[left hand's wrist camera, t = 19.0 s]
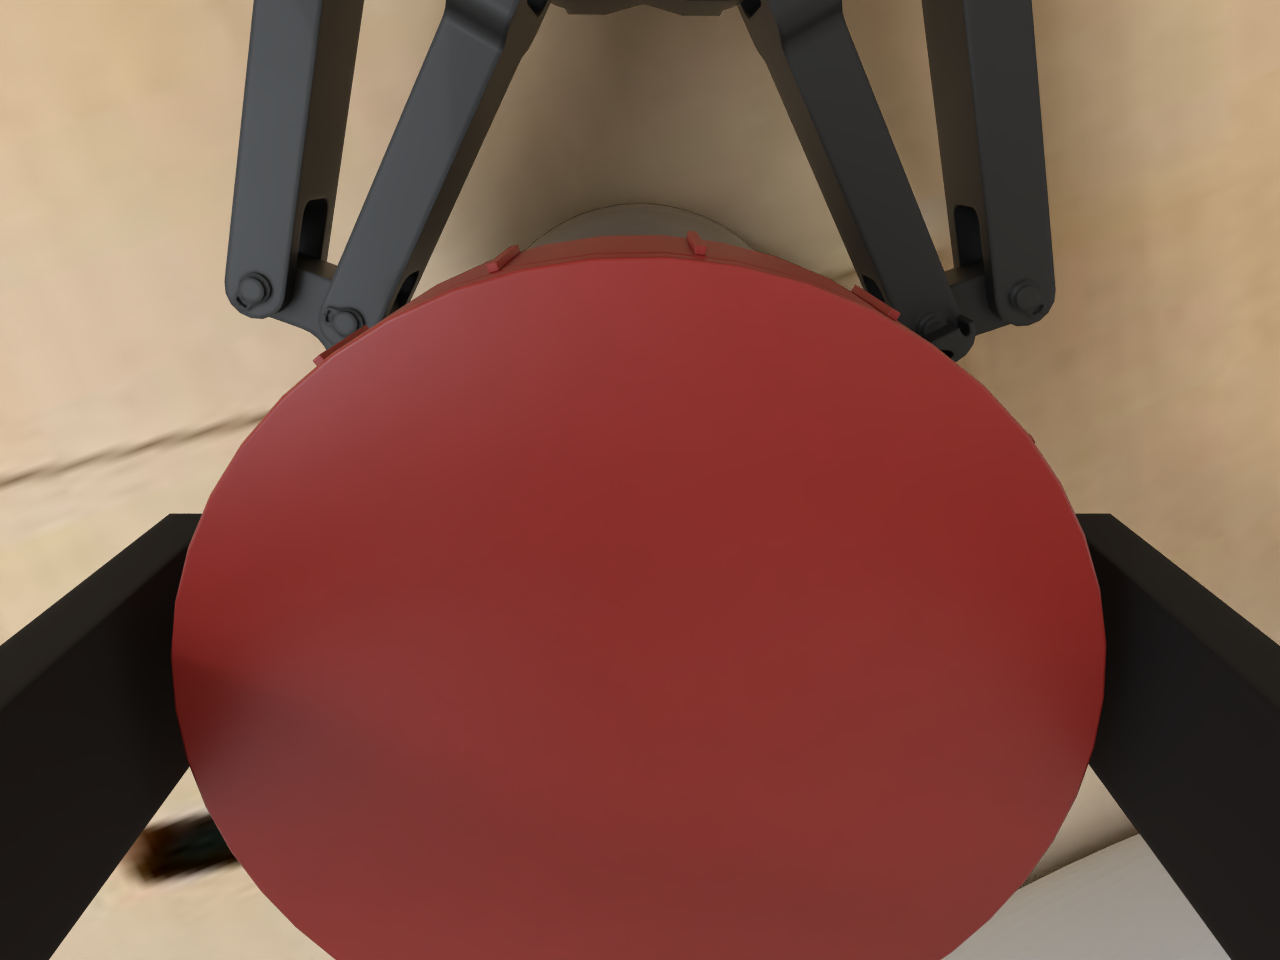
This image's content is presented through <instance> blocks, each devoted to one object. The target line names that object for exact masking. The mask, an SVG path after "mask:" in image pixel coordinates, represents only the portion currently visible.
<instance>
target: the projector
mask: <svg viewBox="0 0 1280 960" xmlns="http://www.w3.org/2000/svg"><path fill="white" fill-rule="evenodd" d="M941 960H1231V959H1230V958H1229V956H1228V955H1227V953H1226V952H1225V951H1224V949H1223V948H1222V947H1221V945H1220V944H1219V942H1218V941H1217V940H1216V938H1215V937H1214V936H1213V934H1212V933H1211V931H1210V930H1209V929H1208V927H1207V926H1206V925H1205V923H1204V922H1203V920H1202V919H1201V918H1200V916H1199V915H1198V914H1197V912H1196V911H1195V909H1194V908H1193V907H1192V905H1191V904H1190V903H1189V901H1188V900H1187V898H1186V897H1185V896H1184V894H1183V893H1182V892H1181V890H1180V889H1179V887H1178V886H1177V885H1176V883H1175V882H1174V881H1173V879H1172V878H1171V876H1170V875H1169V874H1168V872H1167V871H1166V870H1165V868H1164V867H1163V865H1162V864H1161V863H1160V861H1159V860H1158V859H1157V857H1156V856H1155V854H1154V853H1153V852H1152V850H1151V849H1150V848H1149V846H1148V845H1147V843H1146V842H1145V841H1144V839H1143V838H1142V837H1141V835H1140V834H1137V835H1135V836H1132V837H1130V838H1127V839H1125V840H1123V841H1120V842H1118V843H1115V844H1113V845H1111V846H1109V847H1106V848H1104V849H1102V850H1100V851H1098V852H1095V853H1093V854H1091V855H1089V856H1087V857H1084V858H1082V859H1080V860H1078V861H1075V862H1073V863H1071V864H1069V865H1067V866H1065V867H1063V868H1061V869H1059V870H1057V871H1055V872H1052V873H1050V874H1048V875H1046V876H1044V877H1042V878H1040V879H1038V880H1036V881H1034V882H1032V883H1030V884H1028V885H1026V886H1024V887H1022V888H1020V889H1018V890H1017V891H1016V892H1015V893H1014V894H1013V895H1012V896H1011V897H1010V898H1009V899H1008V900H1007V902H1006V903H1005V904H1004V905H1003V906H1002V907H1001V908H1000V909H999V910H998V911H997V912H996V914H995V915H994V916H993V917H992V918H991V919H990V920H989V921H988V922H987V923H985V924H984V925H983V926H982V927H981V928H980V929H978V930H977V931H976V932H975V933H974V934H973V935H972V936H970V937H969V938H968V939H967V940H966V941H965V942H963V943H962V944H961V945H960V946H959V947H958V948H956V949H955V950H954V951H953V952H952V953H950V954H949V955H947V956H946V957H944V958H943V959H941Z"/></svg>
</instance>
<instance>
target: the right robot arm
mask: <svg viewBox="0 0 1280 960" xmlns="http://www.w3.org/2000/svg"><path fill="white" fill-rule="evenodd" d="M550 3H552V4H554V5H556V6H559V7H562V8H565V9H566V11H567V13H568V14H597V15H606V14H609V13H612V12H616V11H619V10H623V9H626V8H630V7H633V6H637V5H640V4H647V5H651V6H654V7H657V8H660V9H663V10H667V11H670V12H673V13H676V14H679V15H686V16H719V15H720V14H721V12H722V11H723V10H725V9H728V8H731V7H733V6H736V5H737V6H738V8H739V11H740V13H741V15H742V18H743V20H744V22H745V25H746V27H747V29H748V31H749V34H750V36H751V38H752V40H753V43H754V45H755V47H756V48H757V50H758V52H759V53H760V55H761V56H762V58H763V59H764V61H765V62H766V64H767V66H768V69H769V71H770V73H771V75H772V78H773V80H774V82H775V85H776V87H777V89H778V92H779V94H780V96H781V99H782V101H783V103H784V106H785V108H786V110H787V113H788V115H789V117H790V120H791V122H792V124H793V126H794V129H795V131H796V133H797V136H798V138H799V140H800V143H801V145H802V147H803V150H804V152H805V154H806V157H807V159H808V161H809V164H810V166H811V168H812V170H813V173H814V175H815V177H816V180H817V182H818V184H819V187H820V189H821V191H822V194H823V196H824V198H825V201H826V203H827V205H828V208H829V210H830V212H831V215H832V217H833V219H834V221H835V224H836V226H837V228H838V231H839V233H840V235H841V238H842V240H843V242H844V245H845V247H846V249H847V252H848V254H849V256H850V259H851V261H852V263H853V266H854V268H855V270H856V272H857V275H858V277H859V279H860V282H861V284H862V286H863V289H864V290H865V291H866V292H868V293H869V294H871V295H872V296H874V297H876V298H877V299H879V300H880V301H882V302H883V303H885V304H887V305H888V306H890V307H891V308H893V309H894V310H896V311H898V312H899V313H900V316H899V317H898V319H897V321H899V322H900V323H902V324H903V325H905V326H906V327H907V328H909V329H910V330H912V331H913V332H915V333H916V334H918V335H919V336H921V337H922V338H924V339H925V340H927V341H928V342H930V343H931V344H933V345H934V346H935V347H937V348H938V349H939V350H940V351H942V352H943V353H944V354H945V355H946V356H948V357H949V358H950V359H951V360H953V361H954V362H957V361H958V360H959V359H961V358H962V357H964V356H965V355H966V354H967V353H968V351H969V350H970V348H971V347H972V345H973V343H974V339H975V336H976V335H979V334H982V333H985V332H988V331H991V330H994V329H997V328H1000V327H1003V326H1006V325H1009V324H1013V325H1015V326H1028V325H1031V324H1033V323H1035V322H1037V321H1040V320H1041V319H1042V318H1043V317H1044V316H1045V315H1046V314H1047V313H1048V312H1049V310H1050V308H1051V306H1052V304H1053V303H1054V298H1055V278H1054V266H1053V254H1052V242H1051V230H1050V218H1049V206H1048V194H1047V182H1046V170H1045V158H1044V146H1043V134H1042V122H1041V109H1040V97H1039V85H1038V73H1037V61H1036V49H1035V37H1034V25H1033V13H1032V1H1031V0H922V8H923V16H924V24H925V32H926V40H927V49H928V57H929V65H930V73H931V82H932V90H933V98H934V106H935V114H936V123H937V131H938V139H939V147H940V156H941V164H942V172H943V180H944V188H945V197H946V205H947V213H948V221H949V230H950V238H951V246H952V254H953V262H954V268H953V269H950V270H948V271H945V272H944V270H943V267H942V265H941V262H940V260H939V257H938V255H937V252H936V250H935V247H934V245H933V242H932V240H931V237H930V235H929V232H928V230H927V227H926V225H925V222H924V220H923V217H922V215H921V212H920V209H919V207H918V204H917V202H916V199H915V197H914V194H913V192H912V189H911V187H910V184H909V182H908V179H907V177H906V174H905V172H904V169H903V167H902V164H901V162H900V159H899V157H898V154H897V152H896V149H895V147H894V144H893V141H892V139H891V136H890V134H889V131H888V129H887V126H886V124H885V121H884V119H883V116H882V114H881V111H880V109H879V106H878V104H877V101H876V99H875V96H874V94H873V91H872V89H871V86H870V84H869V81H868V79H867V76H866V74H865V71H864V68H863V66H862V63H861V61H860V58H859V56H858V53H857V51H856V48H855V46H854V43H853V41H852V38H851V36H850V33H849V31H848V28H847V26H846V23H845V20H844V17H843V12H842V0H446V7H445V11H444V15H443V17H442V20H441V22H440V25H439V27H438V30H437V32H436V34H435V37H434V39H433V41H432V44H431V46H430V48H429V51H428V53H427V56H426V58H425V60H424V63H423V65H422V67H421V70H420V72H419V75H418V77H417V79H416V82H415V84H414V86H413V89H412V91H411V93H410V96H409V98H408V101H407V103H406V105H405V108H404V110H403V112H402V115H401V117H400V120H399V122H398V124H397V127H396V129H395V131H394V134H393V136H392V138H391V141H390V143H389V146H388V148H387V150H386V153H385V155H384V157H383V160H382V162H381V165H380V167H379V169H378V172H377V174H376V176H375V179H374V181H373V183H372V186H371V188H370V191H369V193H368V195H367V198H366V200H365V202H364V205H363V207H362V210H361V212H360V214H359V217H358V219H357V221H356V224H355V226H354V228H353V231H352V233H351V236H350V238H349V240H348V243H347V245H346V247H345V250H344V252H343V255H342V257H341V259H340V262H339V264H338V266H336V265H334V264H331V263H328V262H327V256H328V249H329V242H330V235H331V228H332V221H333V214H334V207H335V200H336V193H337V186H338V179H339V172H340V165H341V158H342V151H343V144H344V137H345V130H346V123H347V116H348V109H349V102H350V95H351V88H352V81H353V74H354V67H355V60H356V53H357V46H358V39H359V32H360V25H361V18H362V11H363V4H364V0H254V5H253V14H252V24H251V34H250V43H249V53H248V62H247V72H246V81H245V91H244V101H243V110H242V120H241V129H240V139H239V149H238V158H237V168H236V177H235V187H234V196H233V206H232V216H231V225H230V235H229V244H228V254H227V264H226V273H225V291H226V295H227V297H228V299H229V301H230V303H231V304H232V305H233V306H234V307H235V308H236V309H237V310H238V311H239V312H240V313H242V314H244V315H246V316H248V317H250V318H259V319H264V318H266V317H271V318H274V319H277V320H280V321H283V322H285V323H288V324H291V325H294V326H297V327H299V328H302V329H304V330H306V331H308V332H310V333H312V334H313V335H314V336H315V337H317V338H318V339H319V340H320V342H321V343H322V344H323V345H324V346H325V348H326V350H327V349H329V348H331V347H332V346H334V345H335V344H337V343H338V342H340V341H341V340H343V339H345V338H346V337H348V336H349V335H351V334H352V333H354V332H355V331H357V330H358V329H360V328H362V327H363V326H365V325H367V326H368V327H369V328H371V327H372V326H374V325H375V324H377V323H378V322H380V321H381V320H383V319H384V318H386V317H387V316H389V315H390V314H392V313H393V312H395V311H397V310H398V309H400V308H401V307H403V306H404V305H406V304H408V303H409V302H410V301H411V298H412V296H413V294H414V292H415V290H416V287H417V285H418V283H419V281H420V279H421V277H422V274H423V272H424V270H425V268H426V266H427V263H428V261H429V259H430V257H431V255H432V252H433V250H434V248H435V246H436V244H437V242H438V239H439V237H440V235H441V233H442V231H443V228H444V226H445V224H446V222H447V220H448V217H449V215H450V213H451V211H452V209H453V206H454V204H455V202H456V200H457V198H458V196H459V193H460V191H461V189H462V187H463V185H464V182H465V180H466V178H467V176H468V174H469V171H470V169H471V167H472V165H473V163H474V160H475V158H476V156H477V154H478V152H479V150H480V147H481V145H482V143H483V141H484V139H485V136H486V134H487V132H488V130H489V128H490V125H491V123H492V121H493V119H494V117H495V114H496V112H497V110H498V108H499V106H500V104H501V101H502V99H503V97H504V95H505V93H506V90H507V88H508V86H509V84H510V82H511V79H512V77H513V75H514V73H515V71H516V68H517V66H518V64H519V62H520V60H521V59H522V57H523V55H524V54H525V53H526V51H527V50H528V49H529V47H530V45H531V43H532V42H533V40H534V37H535V35H536V33H537V31H538V29H539V27H540V25H541V22H542V20H543V18H544V16H545V14H546V12H547V9H548V7H549V5H550Z"/></svg>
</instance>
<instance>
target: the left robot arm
mask: <svg viewBox="0 0 1280 960" xmlns="http://www.w3.org/2000/svg"><path fill="white" fill-rule="evenodd" d="M1075 515H1076V517H1077V519H1078V521H1079V524H1080V526H1081V528H1082V530H1083V532H1084V534H1085V537H1086V541H1087V545H1088V548H1089V552H1090V555H1091V559H1092V562H1093V566H1094V570H1095V573H1096V577H1097V580H1098V584H1099V587H1100V594H1101V602H1102V611H1103V620H1104V629H1105V637H1106V664H1105V687H1104V700H1103V705H1102V710H1101V715H1100V720H1099V725H1098V730H1097V735H1096V740H1095V746H1094V749H1093V752H1092V755H1091V758H1090V761H1089V763H1088V764H1089V765H1090V766H1091V768H1092V769H1093V771H1094V772H1095V773H1096V775H1097V776H1098V777H1099V779H1100V780H1101V782H1102V783H1103V784H1104V786H1105V787H1106V788H1107V790H1108V791H1109V793H1110V794H1111V795H1112V797H1113V798H1114V799H1115V801H1116V802H1117V804H1118V805H1119V806H1120V808H1121V809H1122V810H1123V812H1124V813H1125V815H1126V816H1127V817H1128V819H1129V820H1130V821H1131V823H1132V824H1133V826H1134V827H1135V828H1136V830H1137V831H1138V832H1139V834H1140V835H1141V837H1142V838H1143V839H1144V841H1145V842H1146V843H1147V845H1148V846H1149V848H1150V849H1151V850H1152V852H1153V853H1154V854H1155V856H1156V857H1157V859H1158V860H1159V861H1160V863H1161V864H1162V865H1163V867H1164V868H1165V870H1166V871H1167V872H1168V874H1169V875H1170V876H1171V878H1172V879H1173V881H1174V882H1175V883H1176V885H1177V886H1178V887H1179V889H1180V890H1181V892H1182V893H1183V894H1184V896H1185V897H1186V898H1187V900H1188V901H1189V903H1190V904H1191V905H1192V907H1193V908H1194V909H1195V911H1196V912H1197V914H1198V915H1199V916H1200V918H1201V919H1202V920H1203V922H1204V923H1205V925H1206V926H1207V927H1208V929H1209V930H1210V931H1211V933H1212V934H1213V936H1214V937H1215V938H1216V940H1217V941H1218V942H1219V944H1220V945H1221V947H1222V948H1223V949H1224V951H1225V952H1226V953H1227V955H1228V956H1229V958H1230V959H1231V960H1280V646H1279V645H1278V644H1277V643H1275V642H1274V641H1273V640H1272V639H1270V638H1269V637H1268V636H1266V635H1265V634H1264V633H1263V632H1261V631H1260V630H1259V629H1257V628H1256V627H1255V626H1254V625H1252V624H1251V623H1250V622H1248V621H1247V620H1246V619H1245V618H1243V617H1242V616H1241V615H1239V614H1238V613H1237V612H1236V611H1234V610H1233V609H1232V608H1230V607H1229V606H1228V605H1227V604H1225V603H1224V602H1223V601H1221V600H1220V599H1219V598H1218V597H1216V596H1215V595H1214V594H1212V593H1211V592H1210V591H1209V590H1207V589H1206V588H1205V587H1203V586H1202V585H1201V584H1200V583H1198V582H1197V581H1196V580H1195V579H1193V578H1192V577H1191V576H1189V575H1188V574H1187V573H1186V572H1184V571H1183V570H1182V569H1180V568H1179V567H1178V566H1177V565H1175V564H1174V563H1173V562H1171V561H1170V560H1169V559H1168V558H1166V557H1165V556H1164V555H1162V554H1161V553H1160V552H1159V551H1157V550H1156V549H1155V548H1153V547H1152V546H1151V545H1150V544H1148V543H1147V542H1146V541H1144V540H1143V539H1142V538H1141V537H1139V536H1138V535H1137V534H1135V533H1134V532H1133V531H1132V530H1130V529H1129V528H1128V527H1126V526H1125V525H1124V524H1123V523H1121V522H1120V521H1119V520H1118V519H1116V518H1115V517H1114V516H1112V515H1111V514H1075ZM201 516H202V514H169V515H168V516H166V517H165V518H164V519H162V520H161V521H160V522H159V523H157V524H156V525H155V526H154V527H152V528H151V529H150V530H148V531H147V532H146V533H145V534H143V535H142V536H141V537H139V538H138V539H137V540H136V541H134V542H133V543H132V544H130V545H129V546H128V547H127V548H125V549H124V550H123V551H121V552H120V553H119V554H118V555H116V556H115V557H114V558H112V559H111V560H110V561H109V562H107V563H106V564H105V565H103V566H102V567H101V568H100V569H98V570H97V571H96V572H94V573H93V574H92V575H91V576H89V577H88V578H87V579H85V580H84V581H83V582H82V583H80V584H79V585H78V586H77V587H75V588H74V589H73V590H71V591H70V592H69V593H68V594H66V595H65V596H64V597H62V598H61V599H60V600H59V601H57V602H56V603H55V604H53V605H52V606H51V607H50V608H48V609H47V610H46V611H44V612H43V613H42V614H41V615H39V616H38V617H37V618H35V619H34V620H33V621H32V622H30V623H29V624H28V625H26V626H25V627H24V628H23V629H21V630H20V631H19V632H17V633H16V634H15V635H14V636H12V637H11V638H10V639H8V640H7V641H6V642H5V643H3V644H2V645H1V646H0V960H49V959H50V958H51V956H52V955H53V953H54V952H55V951H56V949H57V948H58V947H59V945H60V944H61V942H62V941H63V940H64V938H65V937H66V936H67V934H68V933H69V931H70V930H71V929H72V927H73V926H74V925H75V923H76V922H77V920H78V919H79V918H80V916H81V915H82V914H83V912H84V911H85V909H86V908H87V907H88V905H89V904H90V903H91V901H92V900H93V898H94V897H95V896H96V894H97V893H98V892H99V890H100V889H101V887H102V886H103V885H104V883H105V882H106V881H107V879H108V878H109V876H110V875H111V874H112V872H113V871H114V870H115V868H116V867H117V865H118V864H119V863H120V861H121V860H122V859H123V857H124V856H125V854H126V853H127V852H128V850H129V849H130V848H131V846H132V845H133V843H134V842H135V841H136V839H137V838H138V837H139V835H140V834H141V832H142V831H143V830H144V828H145V827H146V826H147V824H148V823H149V821H150V820H151V819H152V817H153V816H154V815H155V813H156V812H157V810H158V809H159V808H160V806H161V805H162V804H163V802H164V801H165V799H166V798H167V797H168V795H169V794H170V793H171V791H172V790H173V788H174V787H175V786H176V784H177V783H178V782H179V780H180V779H181V777H182V776H183V775H184V773H185V772H186V771H187V769H188V768H189V763H188V760H187V757H186V753H185V749H184V744H183V740H182V736H181V732H180V727H179V723H178V719H177V715H176V710H175V700H174V688H173V675H172V663H171V651H172V638H173V625H174V611H175V601H176V597H177V592H178V588H179V584H180V580H181V576H182V572H183V567H184V563H185V559H186V555H187V551H188V547H189V545H190V542H191V540H192V537H193V535H194V533H195V530H196V528H197V525H198V523H199V521H200V518H201Z"/></svg>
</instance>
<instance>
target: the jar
mask: <svg viewBox="0 0 1280 960" xmlns="http://www.w3.org/2000/svg"><path fill="white" fill-rule="evenodd" d="M687 231H696V232H697V233H698V235H699V236H700V238H701V239H702V240H707V241H716V242H722V243H726V244H730V245H733V246H737V247H741V248H745V249H749V250H752V251H754V250H753V249H752V248H751V247H750V246H749V245H747V244H746V243H745V242H744V241H743V240H742V239H740V238H739V237H737V236H736V235H735V234H733V233H732V232H731V231H729V230H728V229H726V228H725V227H723V226H721V225H719V224H717V223H715V222H714V221H712V220H710V219H708V218H706V217H703V216H701V215H698V214H695V213H692V212H690V211H687V210H684V209H679V208H674V207H670V206H665V205H656V204H643V203H638V204H622V205H615V206H610V207H605V208H600V209H595V210H593V211H590V212H587V213H584V214H581V215H578V216H575V217H573V218H572V219H570V220H568V221H566V222H564V223H562V224H560V225H558V226H556V227H554V228H553V229H552V230H550V231H549V232H547V233H546V234H544V235H543V236H542V237H540V238H539V239H537V240H536V241H535V242H534V243H533V244H532V245H531V246H530V247H528V248H527V249H526V250H528V249H532V248H535V247H539V246H542V245H546V244H553V243H559V242H566V241H572V240H579V239H585V238H592V237H599V236H628V235H666V236H674V237H683V238H687Z"/></svg>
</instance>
